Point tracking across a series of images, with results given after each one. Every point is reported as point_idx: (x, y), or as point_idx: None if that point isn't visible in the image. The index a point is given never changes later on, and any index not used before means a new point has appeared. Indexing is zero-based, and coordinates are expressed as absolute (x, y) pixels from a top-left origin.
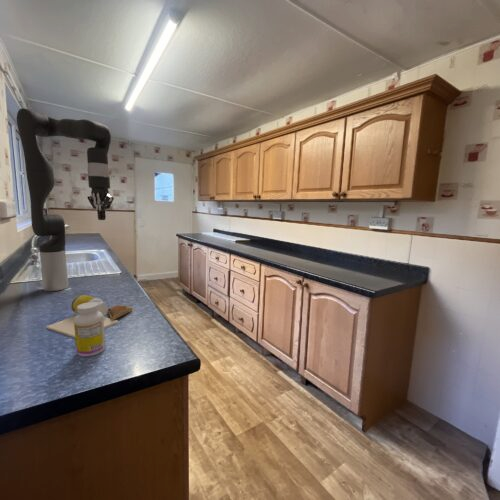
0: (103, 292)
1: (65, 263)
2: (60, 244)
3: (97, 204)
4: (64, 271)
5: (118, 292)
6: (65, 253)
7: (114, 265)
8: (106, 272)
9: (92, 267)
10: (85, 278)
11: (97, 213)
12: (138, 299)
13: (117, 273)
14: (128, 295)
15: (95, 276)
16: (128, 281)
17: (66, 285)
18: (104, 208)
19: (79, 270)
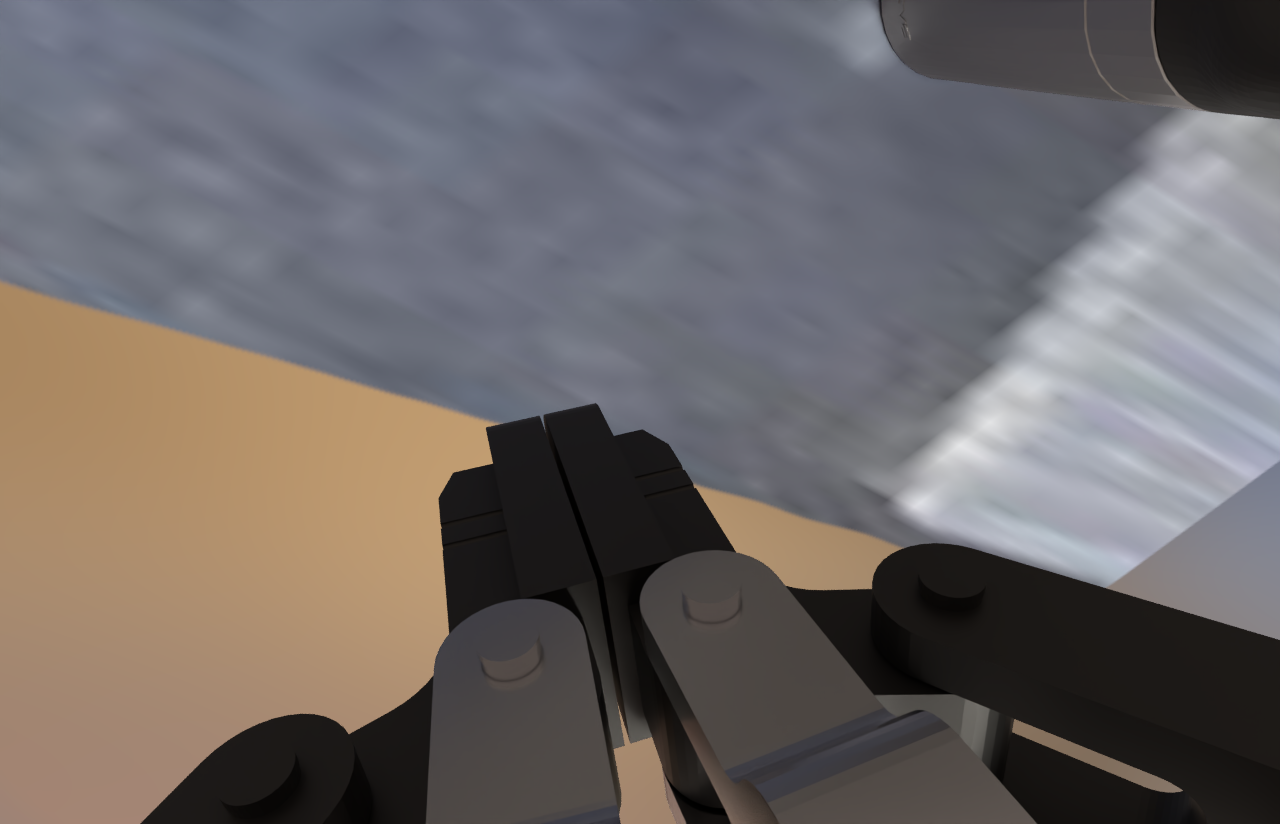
0: (544, 168)
1: (1042, 61)
2: (1233, 8)
3: (733, 796)
4: (979, 31)
5: (446, 245)
6: (1143, 92)
7: (1090, 561)
8: (993, 446)
9: (1181, 441)
10: (994, 272)
11: (707, 508)
12: (124, 249)
13: (905, 484)
14: (301, 254)
15: (975, 346)
16: None
17: (900, 38)
18: (204, 794)
19: (1200, 346)
